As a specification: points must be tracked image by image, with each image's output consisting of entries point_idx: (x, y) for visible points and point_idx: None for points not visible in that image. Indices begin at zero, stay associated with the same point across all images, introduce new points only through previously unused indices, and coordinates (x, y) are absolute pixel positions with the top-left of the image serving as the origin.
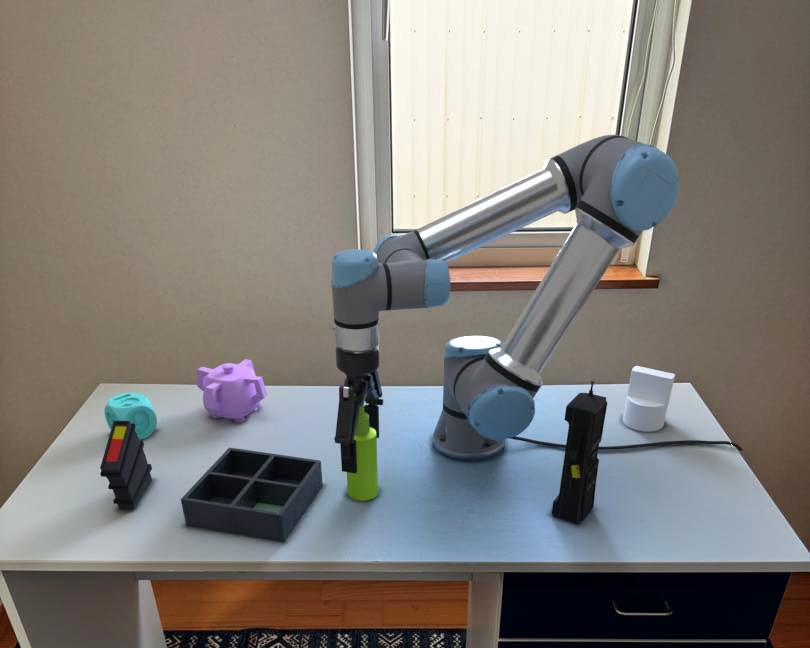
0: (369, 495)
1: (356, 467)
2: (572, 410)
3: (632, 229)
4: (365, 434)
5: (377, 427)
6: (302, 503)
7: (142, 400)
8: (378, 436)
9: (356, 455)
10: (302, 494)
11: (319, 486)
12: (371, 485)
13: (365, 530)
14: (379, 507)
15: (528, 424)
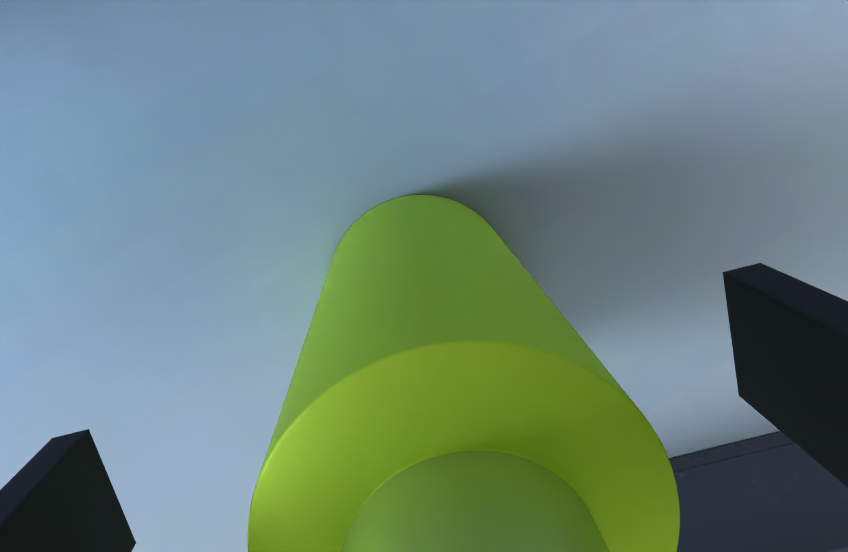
0: (474, 213)
1: (768, 281)
2: None
3: None
4: (524, 459)
5: (29, 501)
6: (792, 475)
7: None
8: (71, 439)
9: (838, 327)
10: (813, 510)
11: None
12: (467, 217)
13: (763, 56)
14: (513, 111)
15: None
